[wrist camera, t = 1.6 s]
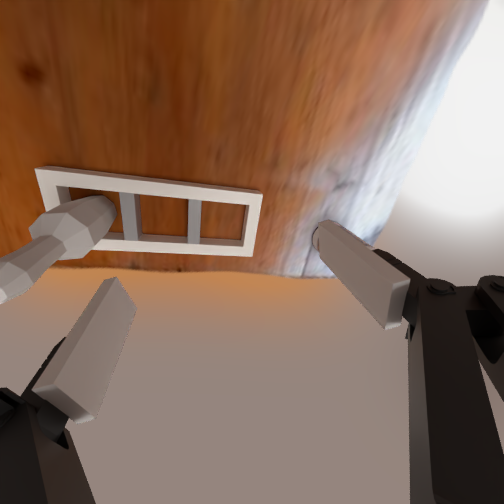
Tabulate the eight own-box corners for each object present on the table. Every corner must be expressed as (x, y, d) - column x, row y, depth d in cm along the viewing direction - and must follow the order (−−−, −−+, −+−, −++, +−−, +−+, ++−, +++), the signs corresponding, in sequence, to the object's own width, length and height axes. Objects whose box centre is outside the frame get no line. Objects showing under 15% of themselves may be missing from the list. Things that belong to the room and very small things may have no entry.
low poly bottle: (130, 218, 38) (56, 306, 19) (96, 232, 38) (-12, 333, 19) (106, 183, 35) (-13, 245, 16) (68, 198, 35) (-95, 279, 16)
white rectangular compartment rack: (66, 239, 38) (56, 247, 35) (48, 165, 32) (34, 168, 30) (249, 249, 45) (252, 256, 43) (259, 190, 40) (262, 194, 37)
